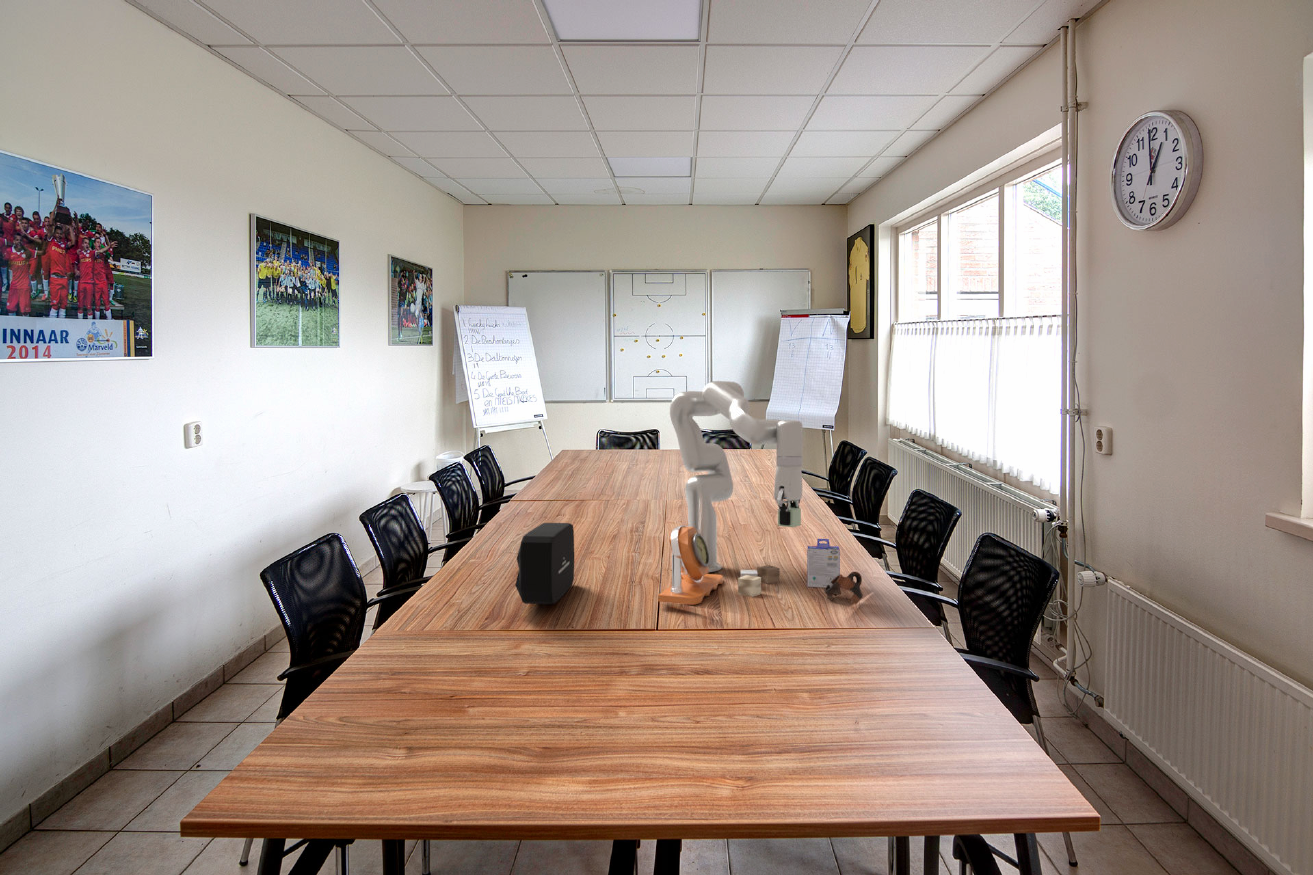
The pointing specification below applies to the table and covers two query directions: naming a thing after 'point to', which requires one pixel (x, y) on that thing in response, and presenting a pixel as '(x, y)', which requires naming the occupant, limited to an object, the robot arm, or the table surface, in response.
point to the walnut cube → (769, 574)
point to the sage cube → (792, 517)
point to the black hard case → (546, 563)
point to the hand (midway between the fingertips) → (789, 523)
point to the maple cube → (749, 586)
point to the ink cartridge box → (822, 564)
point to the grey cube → (749, 573)
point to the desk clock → (689, 568)
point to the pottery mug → (845, 586)
